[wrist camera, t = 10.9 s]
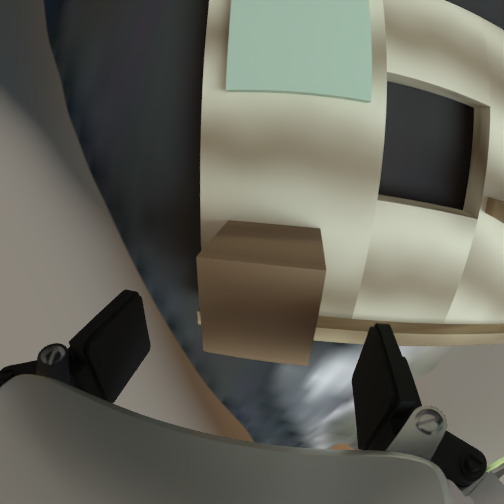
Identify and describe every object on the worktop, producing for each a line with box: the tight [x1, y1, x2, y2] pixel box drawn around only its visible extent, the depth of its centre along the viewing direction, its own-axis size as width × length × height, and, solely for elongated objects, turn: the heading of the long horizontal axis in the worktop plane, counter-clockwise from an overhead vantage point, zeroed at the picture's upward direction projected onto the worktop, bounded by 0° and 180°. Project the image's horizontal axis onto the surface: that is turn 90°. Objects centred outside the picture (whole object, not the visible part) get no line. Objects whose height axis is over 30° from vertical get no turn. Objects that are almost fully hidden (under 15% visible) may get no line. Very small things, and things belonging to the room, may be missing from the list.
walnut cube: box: [196, 220, 326, 366], centre depth 14 cm, size 5×5×5 cm
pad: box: [226, 0, 372, 103], centre depth 10 cm, size 7×7×1 cm
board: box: [197, 0, 504, 346], centre depth 11 cm, size 22×30×6 cm
